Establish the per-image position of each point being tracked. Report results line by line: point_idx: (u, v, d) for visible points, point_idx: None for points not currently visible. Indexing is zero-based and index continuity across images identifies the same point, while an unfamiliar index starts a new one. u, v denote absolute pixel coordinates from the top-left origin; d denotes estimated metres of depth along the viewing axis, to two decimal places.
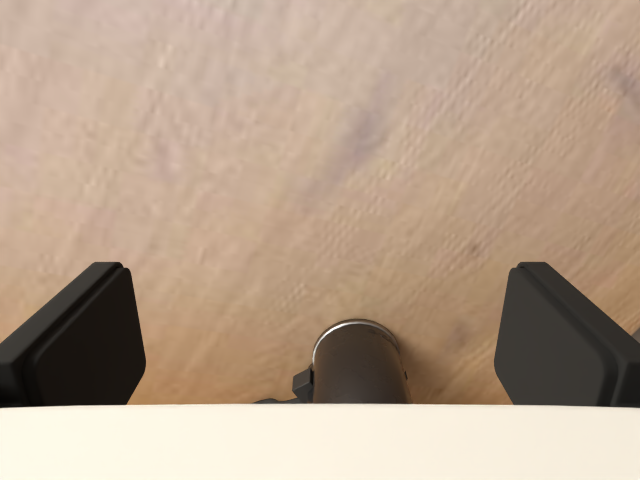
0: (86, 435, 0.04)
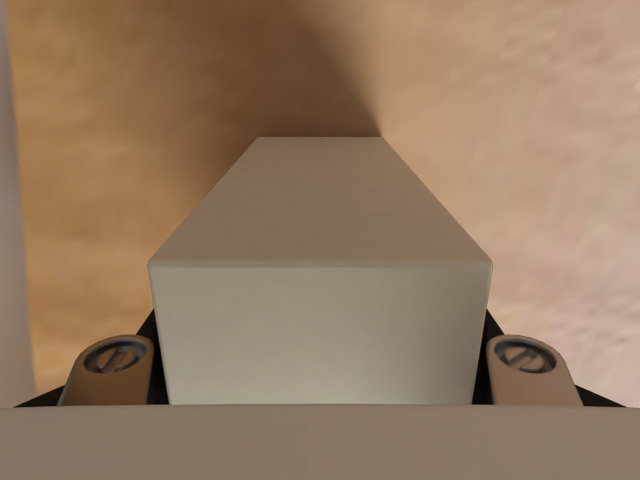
0: (86, 435, 0.04)
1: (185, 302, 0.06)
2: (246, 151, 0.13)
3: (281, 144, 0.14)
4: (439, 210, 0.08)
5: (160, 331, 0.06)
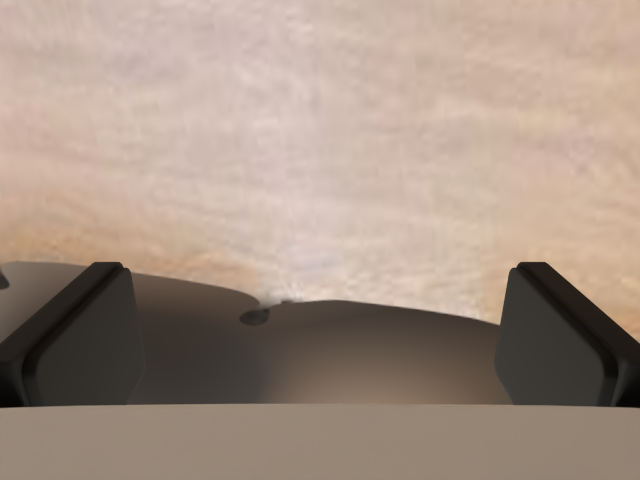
0: (86, 435, 0.04)
1: None
2: None
3: None
4: None
5: None
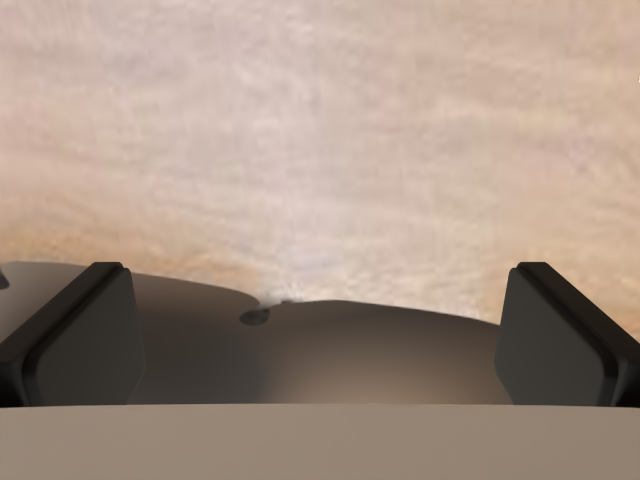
0: (86, 435, 0.04)
1: None
2: None
3: None
4: None
5: None
